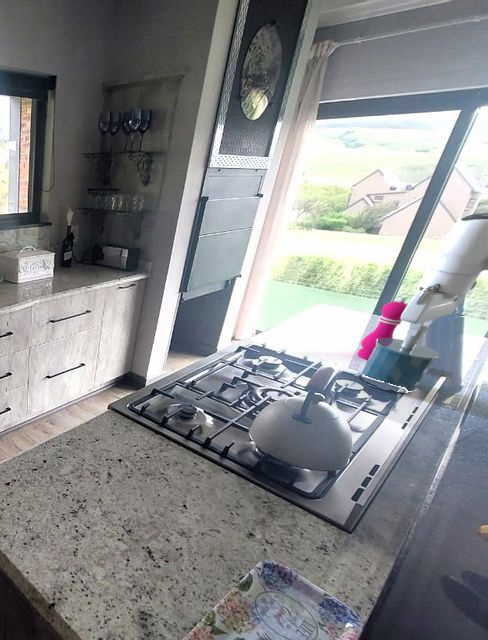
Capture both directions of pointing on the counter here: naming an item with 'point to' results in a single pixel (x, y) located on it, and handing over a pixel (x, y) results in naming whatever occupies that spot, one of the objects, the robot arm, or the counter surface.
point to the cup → (395, 368)
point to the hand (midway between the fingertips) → (415, 333)
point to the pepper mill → (383, 326)
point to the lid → (408, 346)
